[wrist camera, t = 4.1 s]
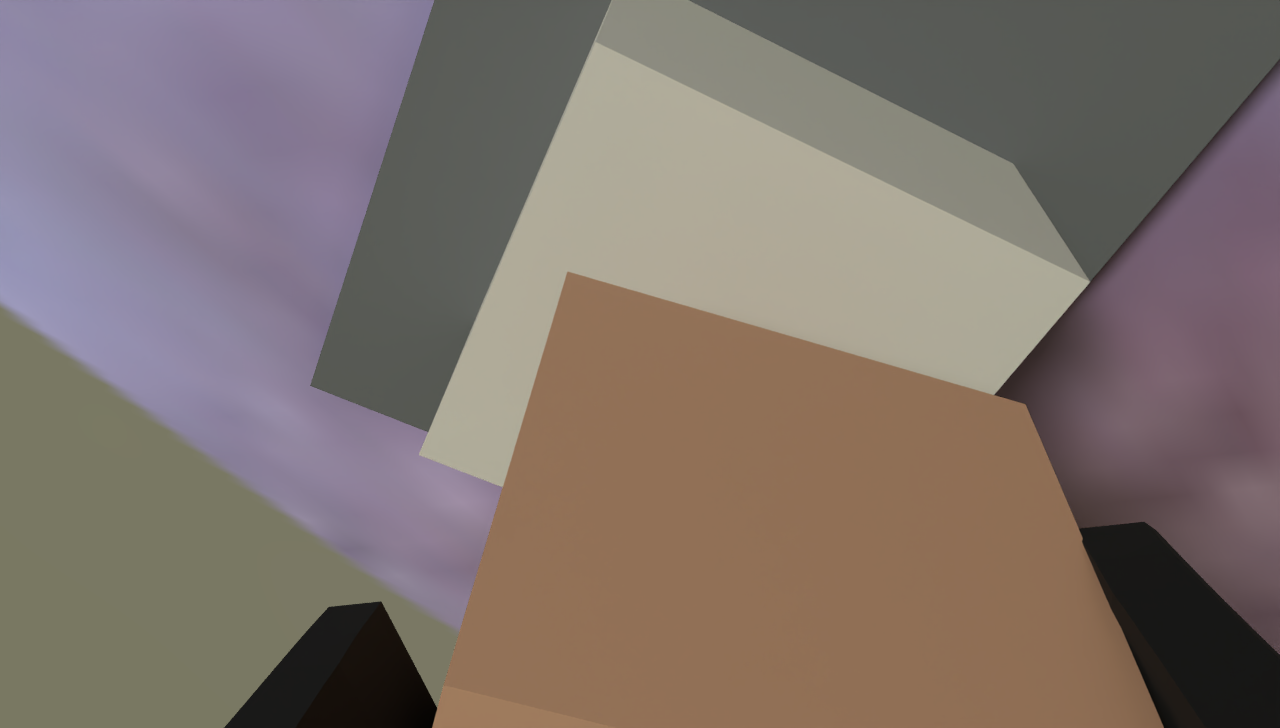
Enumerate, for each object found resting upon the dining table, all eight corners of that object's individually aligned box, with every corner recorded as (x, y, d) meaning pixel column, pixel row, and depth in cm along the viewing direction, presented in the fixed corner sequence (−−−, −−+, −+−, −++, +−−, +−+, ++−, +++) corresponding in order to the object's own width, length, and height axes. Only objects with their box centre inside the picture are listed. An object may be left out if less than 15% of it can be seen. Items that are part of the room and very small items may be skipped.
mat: (1549, -298, 12) (1583, -298, 12) (825, 569, 22) (828, 589, 21) (723, -866, 10) (722, -895, 10) (320, 369, 20) (310, 385, 19)
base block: (1013, 163, 16) (1090, 281, 12) (797, 456, 19) (812, 607, 16) (625, -32, 14) (595, 42, 11) (474, 321, 18) (418, 454, 15)
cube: (1025, 403, 10) (1228, 880, 6) (840, 687, 13) (891, 1146, 9) (567, 271, 10) (443, 685, 6) (477, 595, 12) (350, 1031, 8)
